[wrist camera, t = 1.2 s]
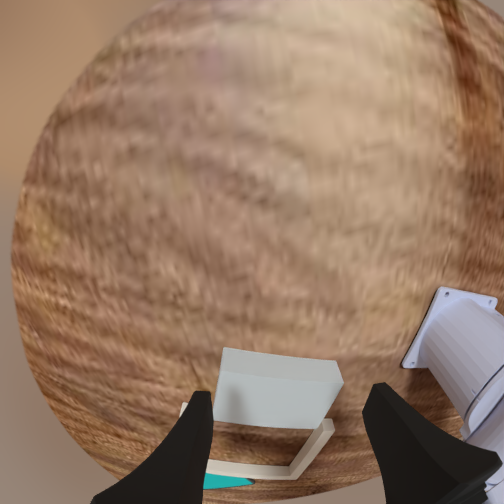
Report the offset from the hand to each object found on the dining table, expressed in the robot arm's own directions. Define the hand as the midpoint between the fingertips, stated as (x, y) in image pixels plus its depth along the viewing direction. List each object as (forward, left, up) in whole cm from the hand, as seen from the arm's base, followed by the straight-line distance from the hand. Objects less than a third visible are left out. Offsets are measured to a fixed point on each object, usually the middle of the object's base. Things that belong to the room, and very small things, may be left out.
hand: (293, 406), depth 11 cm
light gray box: (-1, +7, -9) cm, 12 cm away
